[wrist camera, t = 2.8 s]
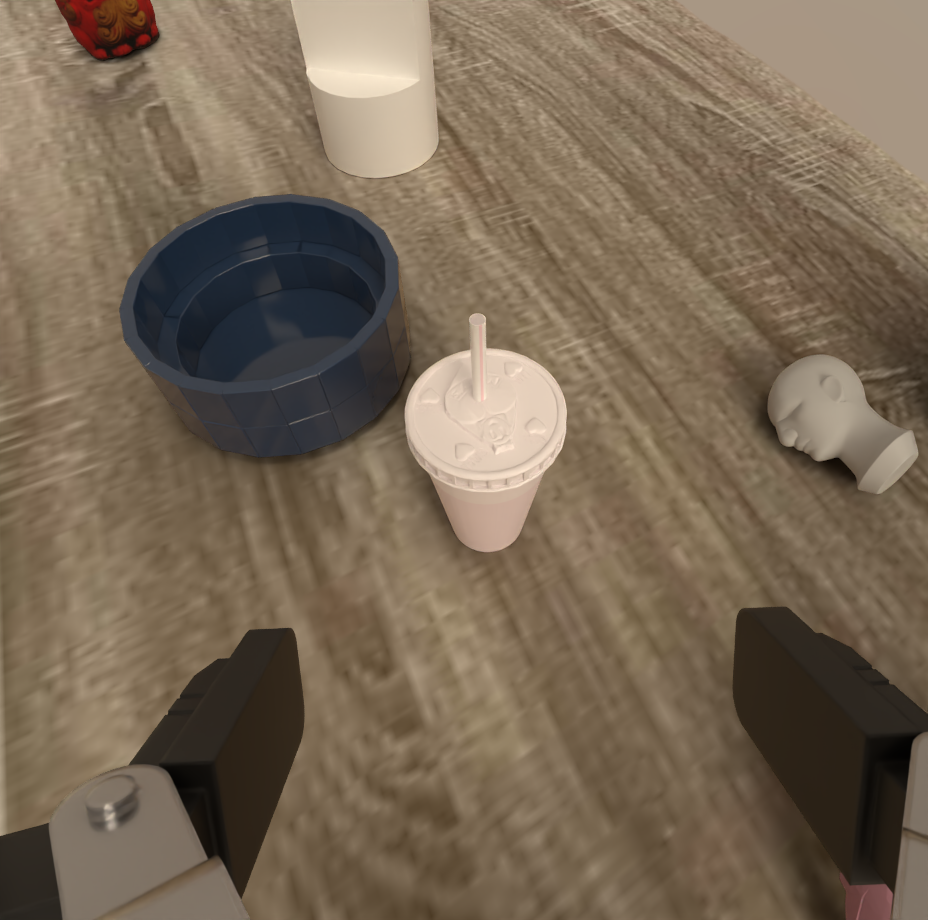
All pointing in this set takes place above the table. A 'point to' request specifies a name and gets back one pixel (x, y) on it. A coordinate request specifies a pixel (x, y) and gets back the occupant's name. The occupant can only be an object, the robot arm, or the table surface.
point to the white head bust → (838, 422)
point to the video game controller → (867, 901)
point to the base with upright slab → (371, 82)
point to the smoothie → (485, 436)
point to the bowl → (271, 323)
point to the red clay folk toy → (110, 25)
